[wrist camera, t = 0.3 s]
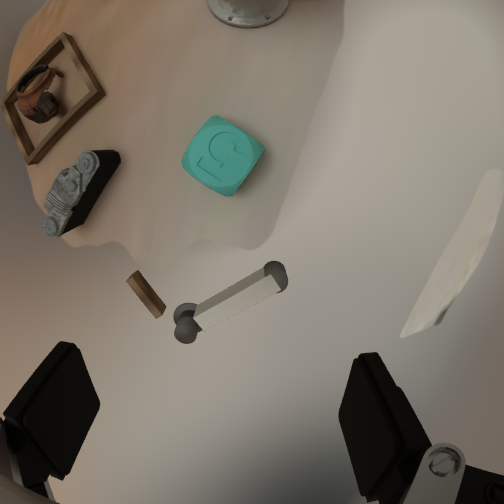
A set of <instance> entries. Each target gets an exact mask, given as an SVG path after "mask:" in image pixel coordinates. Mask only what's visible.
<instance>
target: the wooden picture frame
mask: <svg viewBox="0 0 504 504" xmlns="http://www.w3.org/2000/svg"><path fill="white" fill-rule="evenodd" d="M64 47H65V48H66V50H67V52H68V53H69V55H70V57H71V59H72V60H73V62H74V64H75V66H76V67H77V69H78V71H79V73H80V74H81V76H82V78H83V80H84V81H85V83H86V85H87V86H88V88H89V90H90V92H89V93H88V94H87V95H86V96H84V97H83V98H82V99H81V100H80V101H79V102H78V103H77V104H76V105H75V106H74V107H73V108H72V109H71V110H70V111H69V112H68V113H67V114H66V115H65V116H64V117H63V118H62V119H61V120H60V121H59V122H58V123H57V124H56V126H55V127H54V128H53V129H52V130H51V131H50V132H49V133H48V134H47V135H46V137H45V138H44V139H43V140H42V141H41V142H40V144H39V145H38V146H37V147H36V148H35V149H34V147H33V145H32V143H31V141H30V138H29V136H28V134H27V132H26V130H25V128H24V126H23V124H22V122H21V119H20V117H19V115H18V113H17V110H16V108H15V106H14V103H15V101H16V100H17V95H16V94H15V87H16V85H17V83H18V82H19V80H20V79H21V78H22V76H23V75H25V74H26V73H27V72H28V71H29V70H31V69H32V68H35V67H36V66H38V65H41V64H48V63H49V62H50V61H51V60H52V59H53V58H54V57H55V56H56V55H57V54H58V53H59V52H60V51H61V50H62V49H63V48H64ZM37 75H38V74H37ZM37 75H35V76H34V77H33V78H32V79H30V80H29V82H28V83H27V85H26V87H24V86H22V88H21V91H20V92H22V93H23V91H24V90H25V89H26V88H27V87H28V85H29V84H30V83H31V82H32V81H33V80H34V79H35V77H36V76H37ZM22 76H21V77H20V78H19V79H18V80H17V82H16V83H15V84H14V85H13V87H12V88H11V89H10V90H9V92H8V93H7V94H6V96H5V97H4V98H3V100H2V101H1V102H0V105H1V107H2V110H3V112H4V115H5V117H6V120H7V122H8V125H9V127H10V129H11V131H12V134H13V136H14V138H15V140H16V143H17V145H18V147H19V149H20V151H21V153H22V155H23V157H24V159H25V161H26V163H27V165H32V164H38V162H39V161H40V160H41V159H42V158H43V157H44V155H45V154H46V153H47V152H48V151H49V150H50V149H51V148H52V146H53V145H54V144H55V143H56V142H57V141H58V140H59V139H60V138H61V137H62V136H63V135H64V134H65V133H66V132H67V130H68V129H69V128H70V127H71V126H72V125H73V124H74V123H75V122H76V121H77V120H78V119H80V118H81V117H82V116H83V115H84V114H85V113H86V112H87V111H88V110H89V109H90V108H91V107H92V106H93V105H94V104H96V103H97V102H98V101H99V100H100V99H101V98H102V97H103V96H105V95H106V93H105V91H104V90H103V88H102V86H101V85H100V83H99V82H98V80H97V78H96V77H95V75H94V73H93V72H92V70H91V68H90V67H89V65H88V63H87V62H86V60H85V58H84V57H83V55H82V53H81V52H80V50H79V48H78V46H77V45H76V43H75V41H74V40H73V38H72V36H70V35H68V34H66V33H65V32H62V33H61V34H60V35H59V36H58V37H57V38H56V39H55V40H54V41H53V42H52V43H51V44H50V45H49V46H48V47H47V48H46V49H45V50H44V51H43V52H42V53H41V54H40V55H39V56H38V57H37V58H36V60H35V61H34V62H33V63H32V64H31V65H30V66H29V67H28V68H27V70H26V71H25V72H24V73H23V74H22Z"/></svg>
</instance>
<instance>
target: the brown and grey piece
mask: <svg viewBox="0 0 504 504" xmlns="http://www.w3.org/2000/svg"><path fill="white" fill-rule="evenodd" d="M126 282H127V283H128V284H129V286H130V287H131V288H132V290H133V291H134V292H135V293H136V295H137V296H138V297H139V298H140V300H141V301H142V302H143V303H144V305H145V306H146V307H147V308H148V310H149V311H150V312H151V313H152V314H153V316H155V318H156V319H157V318H158V317H160V316H162V315H163V313H164V310H165V309H166V305H165V304H164V303H163V301H162V300H161V299H160V298H159V297H158V295H157V294H156V293H155V291H154V290H153V289H152V288H151V286H150V285H149V284H148V282H147V281H146V280H145V278H144V277H143V276H142V274H141V273H140V272H139V271H138V270H137V271H136V272H134V273H133V274H132V275H131V276H130V277H129V279H127V281H126ZM196 307H197V305H196V304H193V303H184V304H181V305H179V306H178V307H177V308H176V310H175V312H174V321H175V324H176V325H177V326H176V328H175V331H174V335H175V338H176V339H177V340H178V341H180V342H182V343H184V344H189V343H192V342H194V341H195V339H196V336H197V332H200V331H202V330H203V329H202V328H201V327H200V326H199V325H198V323H197V322H196V321H195V320H194V319H193V317H194V313H195V310H196Z"/></svg>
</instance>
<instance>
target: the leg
mask: <svg viewBox="0 0 504 504" xmlns="http://www.w3.org/2000/svg"><path fill="white" fill-rule="evenodd" d="M287 285H288V277H287V274H286V271H285V268H284V266H283V264H281V263H280V262H278V261H270V262H268V263H267V264H265V266H264V267H263V268H261V269H260V270H258V271H256V272H255V273H253V274H251V275H250V276H248V277H246V278H244V279H243V280H241V281H239V282H237V283H236V284H234V285H233V286H230V287H229V288H227V289H225V290H224V291H222V292H220V293H218V294H217V295H215V296H213V297H211V298H210V299H208V300H206V301H204V302H203V303H201V304H199V305H197V307H196V310H195V313H194V317H193V319H194V320H195V321H196V322H197V323H198V325H199V326H200V327H201V328H202V329H203V331H207V330H208V329H210V328H212V327H214V326H216V325H218V324H220V323H222V322H224V321H225V320H227V319H229V318H231V317H233V316H235V315H237V314H238V313H240V312H242V311H244V310H246V309H248V308H249V307H251V306H253V305H255V304H257V303H259V302H260V301H262V300H264V299H266V298H268V297H269V296H271V295H273V294H275V293H280V292H282V291H283V290H285V289H286V287H287Z"/></svg>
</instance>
